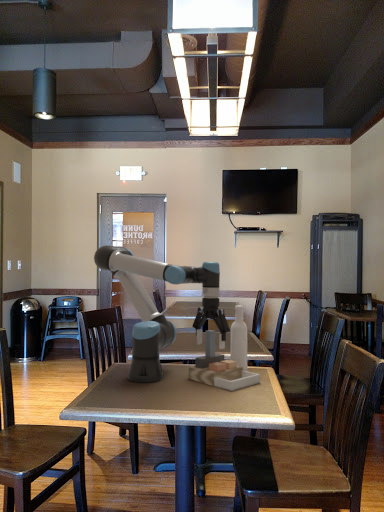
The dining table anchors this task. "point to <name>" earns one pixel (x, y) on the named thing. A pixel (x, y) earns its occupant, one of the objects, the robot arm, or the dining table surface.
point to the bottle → (239, 339)
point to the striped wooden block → (214, 374)
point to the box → (238, 381)
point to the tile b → (229, 364)
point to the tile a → (217, 366)
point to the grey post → (209, 352)
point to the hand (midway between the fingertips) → (210, 346)
